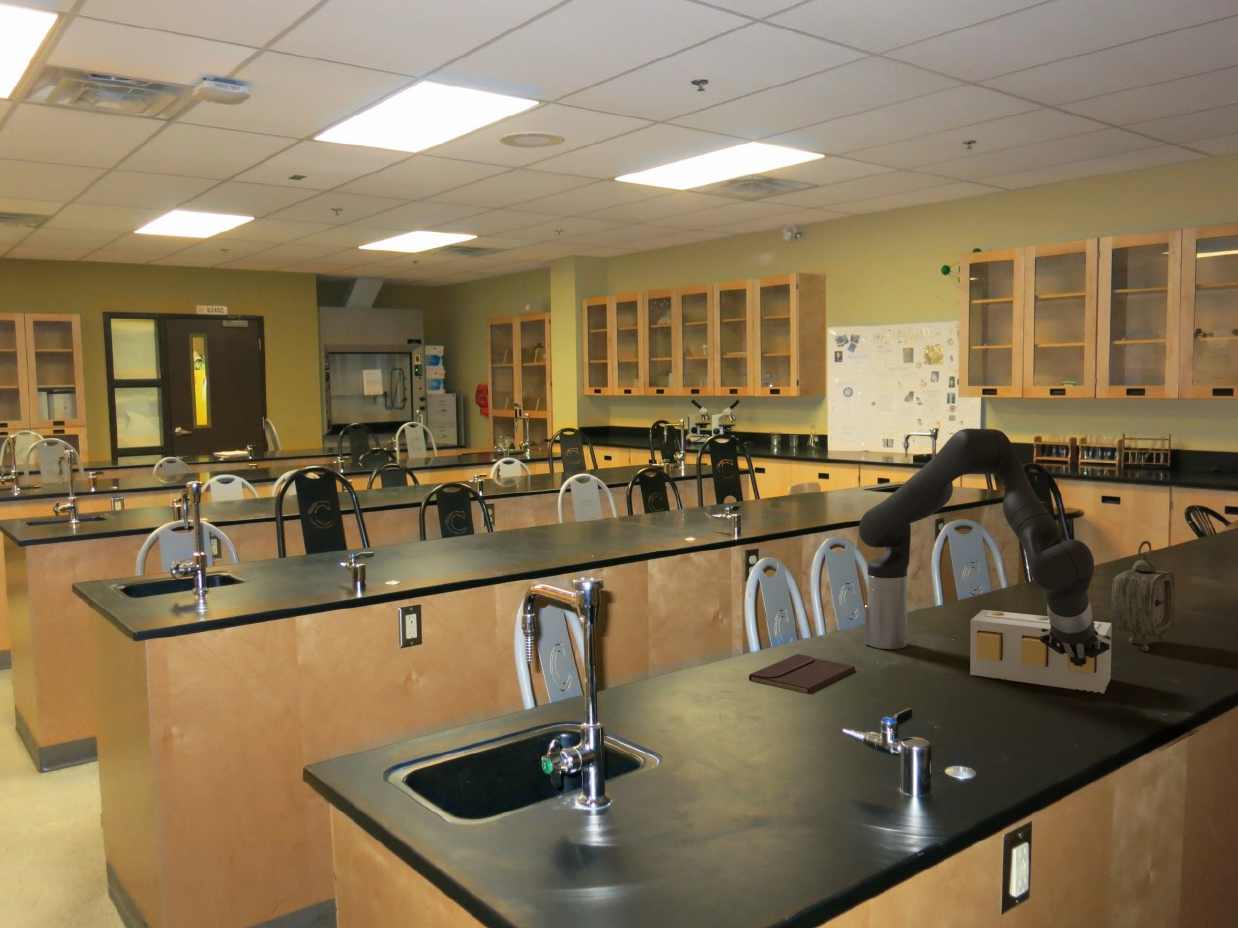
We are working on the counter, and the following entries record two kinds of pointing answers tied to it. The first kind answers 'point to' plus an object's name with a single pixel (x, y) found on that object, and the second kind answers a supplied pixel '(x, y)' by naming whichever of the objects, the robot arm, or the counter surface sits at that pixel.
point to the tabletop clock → (1143, 600)
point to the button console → (1013, 669)
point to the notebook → (802, 673)
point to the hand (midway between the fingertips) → (1079, 662)
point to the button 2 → (1084, 666)
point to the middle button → (1034, 652)
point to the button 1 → (989, 645)
